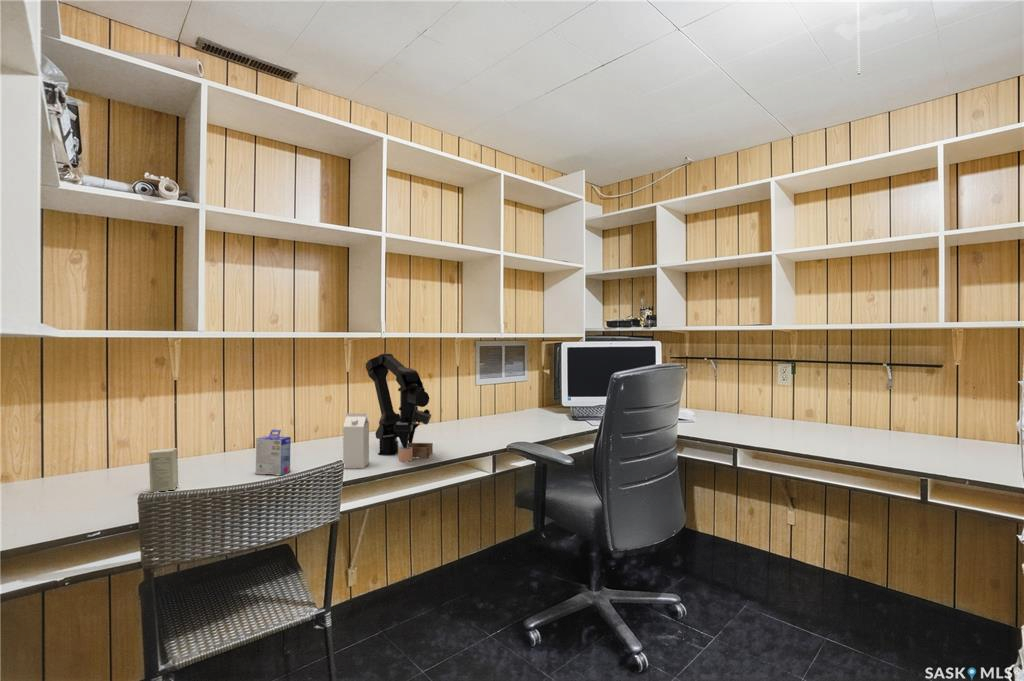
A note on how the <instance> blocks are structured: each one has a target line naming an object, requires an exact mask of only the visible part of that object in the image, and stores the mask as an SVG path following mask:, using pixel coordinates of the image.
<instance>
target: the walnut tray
mask: <svg viewBox="0 0 1024 681" xmlns="http://www.w3.org/2000/svg"><path fill="white" fill-rule="evenodd" d="M408 447H412V448H413V457H415V458H414V459H417V458H416V457H419V458H418V459H429V458H430V457H431V456H432V454H433V442H412V443H409V442H408ZM430 455H431V456H430ZM429 456H430V457H429ZM421 457H422V458H421Z"/></svg>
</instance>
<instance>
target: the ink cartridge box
mask: <svg viewBox="0 0 1024 681" xmlns="http://www.w3.org/2000/svg"><path fill="white" fill-rule="evenodd" d="M281 432H282V430H281V429H271V431H270V432H269V435H266V436H265V435H264V436H261V437H258V438H256V440H255V442H256V444H255V474H256V475H265V474H279V475H278V476H282V475H285V474H289V473H291V436H280V435H281Z"/></svg>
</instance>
